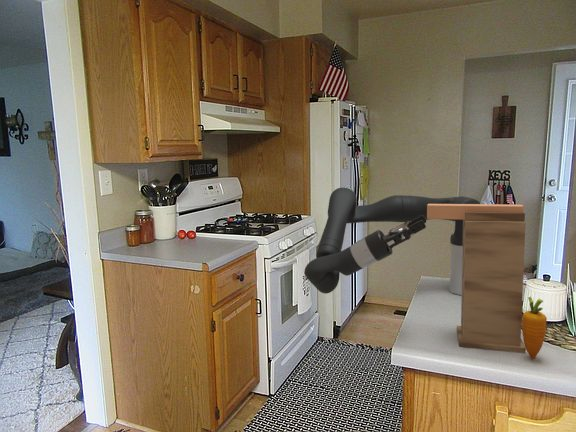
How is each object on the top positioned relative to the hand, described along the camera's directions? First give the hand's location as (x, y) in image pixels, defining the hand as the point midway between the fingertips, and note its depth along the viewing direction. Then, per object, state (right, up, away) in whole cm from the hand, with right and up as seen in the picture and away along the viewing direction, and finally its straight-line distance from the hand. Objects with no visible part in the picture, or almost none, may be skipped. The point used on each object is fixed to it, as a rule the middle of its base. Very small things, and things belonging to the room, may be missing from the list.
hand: (424, 220), depth 112 cm
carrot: (+22, -33, -11) cm, 41 cm away
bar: (+11, +1, -3) cm, 12 cm away
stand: (+16, -31, -1) cm, 35 cm away
